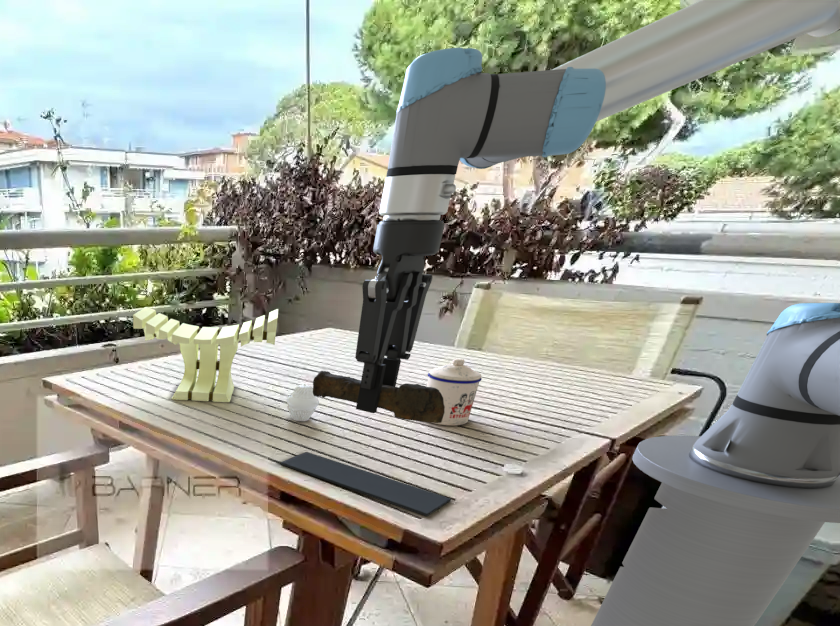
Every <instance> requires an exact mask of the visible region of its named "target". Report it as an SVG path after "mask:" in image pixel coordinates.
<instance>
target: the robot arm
mask: <svg viewBox="0 0 840 626" xmlns="http://www.w3.org/2000/svg"><path fill="white" fill-rule="evenodd" d="M838 31H840V0H698V1H696V2H694V3H692V4H690V5H688V6H686V7H684V8H681V9H679V10H677V11H675V12H673V13H670V14H668V15H666V16H663V17H662V18H660V19H658V20H656V21H654V22H651V23H649V24H647V25H645V26H642V27H640V28H638V29H636V30H634V31H632V32H629V33H627V34H625V35H623V36H621V37H619V38H617V39H615V40H613V41H610V42H608V43H606V44H604V45H601V46H600V47H597V48H595V49H593V50H591V51H589V52H587V53H585V54H583V55H580V56H578V57H576V58H574V59H572V60H569V61H567V62H566V63H562V64H561V65H559V66H557V67H555V68H553V69H552V68H551V69H547V70H545V69H544V70H534V71H522V72H508V73H497V74H496V73H489V72H482V71H483V67H482V63H483V54H482V51H480V49H477V48H474V47H468V48H463V47H449V48H443V49H442V48H441V49H436V50H433V51H429V52H425V53H423V54H421V55H419V56H417V57H415V58H414V59H413V60H412V62H411V63H410V64H409V65H408V66H407V68H406V70H405V75H404V79H403V83H402V88H401V93H400V97H399V102H398V106H397V109H396V111H395V112H396V113H395V114H396V115H395V122H394V128H393V134H392V139H391V144H390V145H391V146H390V151H389V157H388V158H389V159H388V164H387V170H386V175H385V176H386V177H385V181H384V187H383V191H382V197H381V202H380V207H379V212H378V214H379V216H383V218H382V221H379V222H378V223H377V226H376V231H375V237H374V242H373V248H372V251H373V253H374V254H375V255H378V256H380V255H381V261H380V264H379V267H378V269H377V272H376V276H375V277H374V278H373V279H365V280H363V282H362V286H361V287H362V304H361V313H360V321H359V328H358V334H357V342H356V347H355V348H356V350H355V358H354V359H355V360H356V361H357V362H358V363H363V367H362V374H361V379H360V381H361V384H360V389H359V395H358V400H357V403H356V406H355V410H359V411H361V412H366V413H371V414H376V413H377V411H378V408H377V407H378V402H379V397H380V392H381V388H382V384H383V385H389V386H394V387H397V386H396V385H397V381H398V378H399V377H398V376H399V372H400V369H401V368H400V367H401V363H402V360H405V361H408V360H409V359H410V358H411V352H412V350H413V347H414V343H415V340H416V336H417V332H418V328H419V326H420V325H419V324H420V321H421V317H422V313H423V309H424V308H423V307H424V305H425V301H426V297H427V293H428V292H429V289H430V286H431V284H432V281H433V274H429V273H424V271H425V259H426V257H425V256H434V255H436V254H438V252H439V251H440V247H441V243H442V238H443V233H444V229H445V225H446V223H444V220H441V217H442V216H441V215H446V214H447V213H448V211H449V205H450V202H451V201H450V200H451V198H452V197H451V196H452V195H453V194H454V193H455V192H456V189H457V186H456V184H454V183H455V179H456V175H457V172H458V168H459V167H458V166H459V163H460V162H461V163H462V164H463V165H465V166H467V167H470V168H474V169H478V170H485V169H488V168H491V167H493V166H496V165H498V164H501V163H506V162H509V161H513V160H517V159H521V158H527V157H542V158H548V157H551V156H562V155H569V154H571V153H574V152H576V151H577V150H578V149H579V148H581V146H582V145H583V144H584V143H585V142H586V140H587V139H588V137H589V136H590V134H591V132H592V131H593V129H594V127H595V125H596V123H597V122H600V121H601V120H604V119H607V118H608V117H611V116H614V115H616V114H617V113H621V112H624V111H626V110H627V109H630V108H632V107H635V106H637V105H639V104H641V103H645V102H647V101H649V100H651V99H654V98H657V97H659V96H662V95H665V94H666V93H668V92H671V91H672V90H675V89H677V88H680V87H683V86H685V85H688V84H690V83H692V82H695V81H697V80H700V79H702V78H704V77H706V76H709V75H712V74H714V73H716V72H718V71H720V70H723V69H725V68H727V67H731V66H733V65H735V64H738V63H740V62H742V61H744V60H747V59H749V58H752V57H754V56H756V55H759V54H761V53H764V52H766V51H768V50H771V49H773V48H776V47H778V46H780V45H783V44H785V43H788V42H790V41H793V40H794V39H797V38H799V37H802V36H804V35H806V34H807V35H809V36H810V37H811V36H812V37H814V38H822V37H827V36H829V35H831V34H834V33H837V32H838ZM700 436H701V437H700V438H699V439H698V440H697V441H696V442H695V443H694V445H693V447H692V449H691V451H690V453H689V457H690V458H691V459H692V460H693V461H694V462H696V463H697V464H699V465H701V466H703V467H705V468H708V469H710V470H713V471H716V472H718V473H721V474H725V475H728V476H731V477H735V478H739V479H743V480H747V481H752V482H756V483H761V484H767V485H773V486H780V487H788V488H801V489H818V488H826V487H830V486H832V485H833V484H834V482H835V481H836V479H837V478H838V476H839V475H840V302H801V303H795V304H792V305H790V306H788V307H786V308H785V309H783V310H782V311H781V313H780V314H779V316H778V317H777V318H776V320H775V321H774V322H773V325H771V328H769V330H768V331H767V332H766V338H765V339H764V342H763V343H762V345H761V347H760V348H759V351H758V353H757V355H756V357H755V359H754V361H753V363H752V365H751V367H750V368H749V370H748V372H747V375H746V376H745V377H744V380H743V382H742V384H741V386H740V388H739V390H738V392H737V394H736V396H735V398H734V400H733V401H732V404H731V405H730V407H729V408H728V410H727V411H725V412H724V414H723V415H721V416H720V417H719V418H718V419H717V421H715V422H714V423H713V424H712V425H711V426H710V427H709V428H708V429H706V431H705V432H704V433H702V435H700Z"/></svg>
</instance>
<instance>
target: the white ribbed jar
mask: <svg viewBox="0 0 840 626" xmlns="http://www.w3.org/2000/svg"><path fill="white" fill-rule="evenodd" d="M291 393H292V394H290V395H288V397H287V398H286V405H287V409H288V413H289V415H290V417H291V420H293V421H296V422H307V421H309V420H310V419H311V417H312V416H313V414H314V413H315V411H316V410H317V408H318V407H319V404H320V400H319V397H317V396H314V395H313V386H311V385H309V384H306V383H305V384H299V385H297V386H296V387H295V388H294V391H293V392H291Z"/></svg>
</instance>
